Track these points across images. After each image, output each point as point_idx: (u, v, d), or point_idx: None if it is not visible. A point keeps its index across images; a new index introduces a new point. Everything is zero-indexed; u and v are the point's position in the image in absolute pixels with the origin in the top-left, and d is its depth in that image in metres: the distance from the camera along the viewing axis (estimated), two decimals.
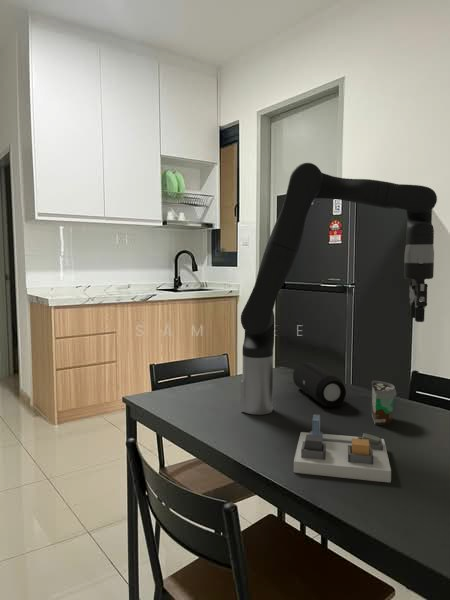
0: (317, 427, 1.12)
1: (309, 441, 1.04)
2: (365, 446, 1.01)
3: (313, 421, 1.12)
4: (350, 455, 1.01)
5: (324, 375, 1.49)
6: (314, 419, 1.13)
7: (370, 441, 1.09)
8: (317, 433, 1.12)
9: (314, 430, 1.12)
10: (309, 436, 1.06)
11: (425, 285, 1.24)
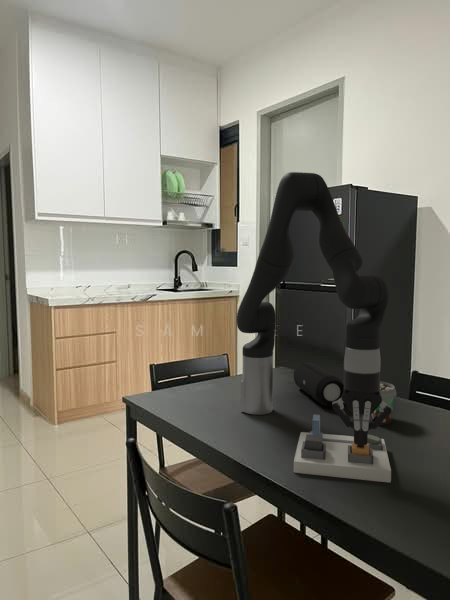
0: (317, 427, 1.12)
1: (309, 441, 1.04)
2: (365, 450, 1.01)
3: (313, 421, 1.12)
4: (350, 455, 1.01)
5: (324, 375, 1.49)
6: (314, 419, 1.13)
7: (370, 441, 1.09)
8: (317, 433, 1.12)
9: (314, 430, 1.12)
10: (309, 436, 1.06)
11: None
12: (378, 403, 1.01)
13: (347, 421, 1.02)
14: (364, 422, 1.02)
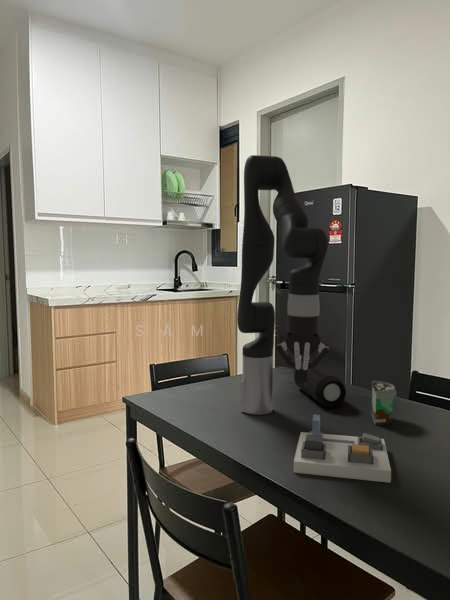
0: (317, 427, 1.12)
1: (309, 441, 1.04)
2: (365, 452, 1.01)
3: (313, 421, 1.12)
4: (350, 455, 1.01)
5: (324, 375, 1.49)
6: (314, 419, 1.13)
7: (370, 441, 1.09)
8: (317, 433, 1.12)
9: (314, 430, 1.12)
10: (309, 436, 1.06)
11: None
12: (317, 344, 1.11)
13: (289, 361, 1.13)
14: (304, 362, 1.12)
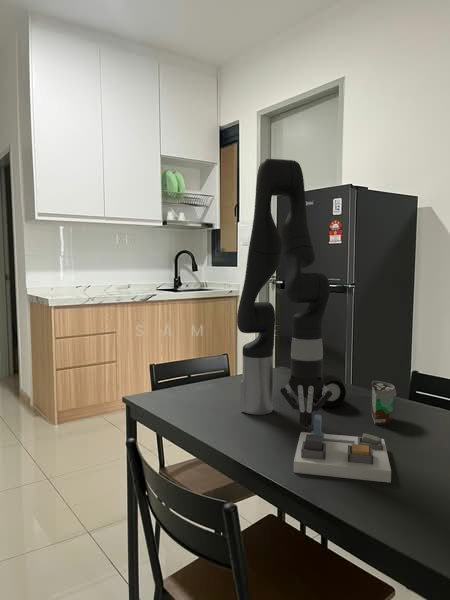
0: (318, 427, 1.12)
1: (309, 441, 1.04)
2: (365, 452, 1.01)
3: (314, 421, 1.12)
4: (350, 455, 1.01)
5: (324, 375, 1.49)
6: (315, 419, 1.13)
7: (370, 441, 1.09)
8: (318, 433, 1.12)
9: (315, 430, 1.12)
10: (309, 436, 1.06)
11: None
12: (320, 387, 1.12)
13: (293, 404, 1.14)
14: (308, 405, 1.13)
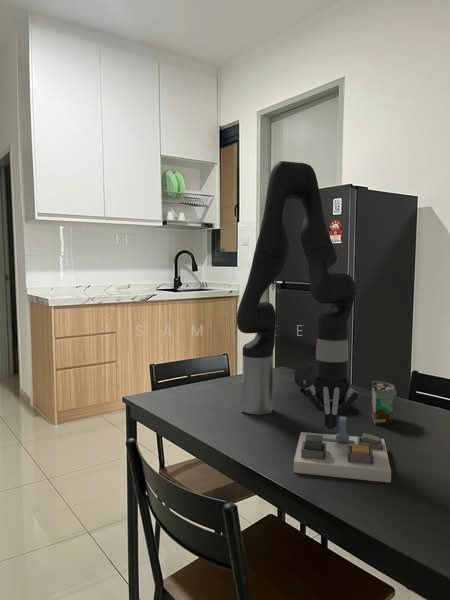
0: (344, 429, 1.11)
1: (309, 441, 1.04)
2: (365, 452, 1.01)
3: (340, 423, 1.11)
4: (350, 455, 1.01)
5: None
6: (341, 421, 1.11)
7: (370, 441, 1.09)
8: (344, 435, 1.11)
9: (341, 432, 1.11)
10: (309, 436, 1.06)
11: None
12: (346, 389, 1.11)
13: (318, 406, 1.13)
14: (333, 406, 1.12)
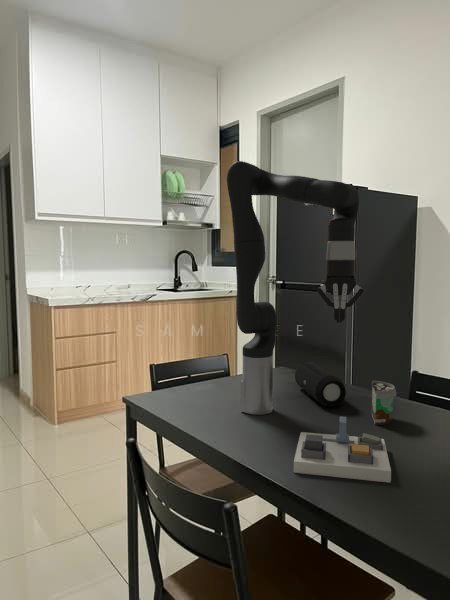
0: (344, 429, 1.11)
1: (309, 441, 1.04)
2: (365, 452, 1.01)
3: (340, 423, 1.11)
4: (350, 455, 1.01)
5: (324, 375, 1.49)
6: (341, 421, 1.11)
7: (370, 441, 1.09)
8: (344, 435, 1.11)
9: (341, 432, 1.11)
10: (309, 436, 1.06)
11: None
12: (353, 285, 1.26)
13: (328, 301, 1.28)
14: (342, 301, 1.27)
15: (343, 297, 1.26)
